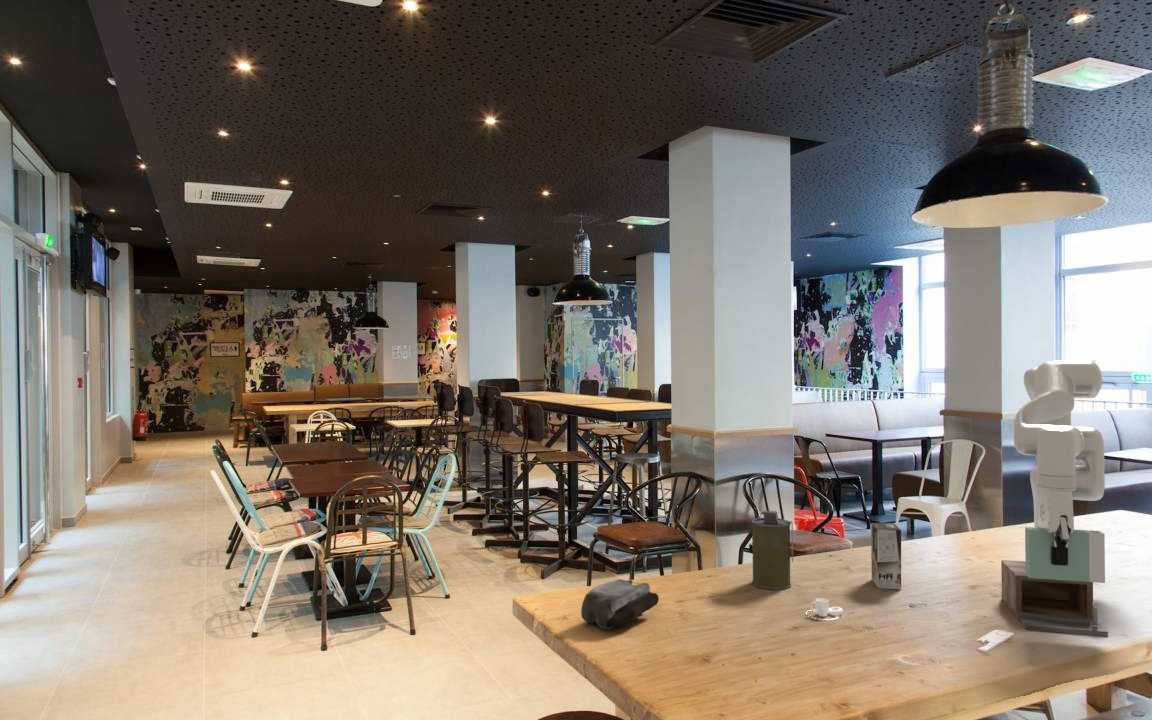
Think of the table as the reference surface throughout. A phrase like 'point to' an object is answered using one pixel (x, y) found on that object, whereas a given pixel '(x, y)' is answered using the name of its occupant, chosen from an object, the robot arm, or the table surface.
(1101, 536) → the green and grey box
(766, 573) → the canister
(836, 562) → the table surface
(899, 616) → the table surface
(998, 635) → the white plastic blade
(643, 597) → the rock
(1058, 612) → the cabinet
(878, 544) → the coffee box
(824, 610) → the teacup and saucer
